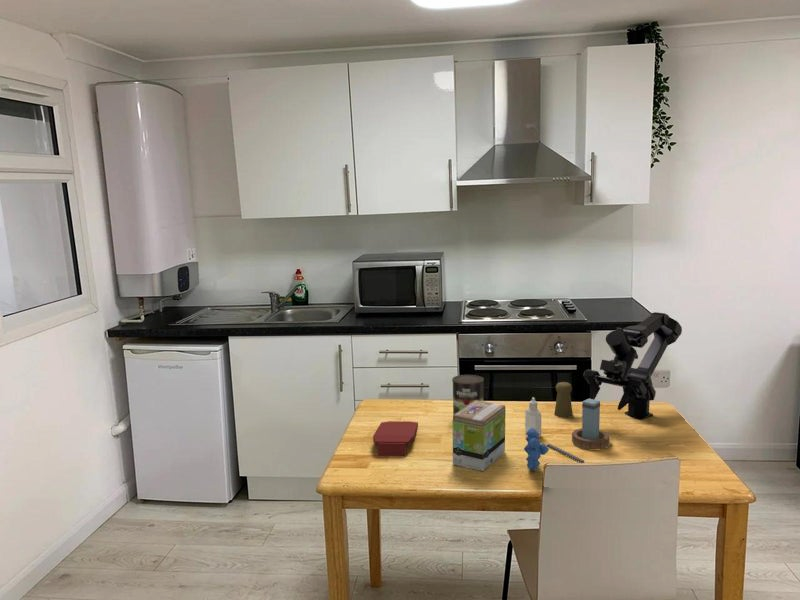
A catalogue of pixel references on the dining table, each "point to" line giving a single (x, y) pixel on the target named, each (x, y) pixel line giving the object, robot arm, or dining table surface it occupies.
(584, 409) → the blue-gray square peg
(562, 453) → the thin gray square rod
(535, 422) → the eye dropper bottle
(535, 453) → the grapes
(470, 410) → the tea box
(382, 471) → the dining table surface
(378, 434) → the red lunch box
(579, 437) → the bead ring
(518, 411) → the dining table surface
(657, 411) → the dining table surface
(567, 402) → the cork
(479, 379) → the coffee can
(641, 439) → the dining table surface
